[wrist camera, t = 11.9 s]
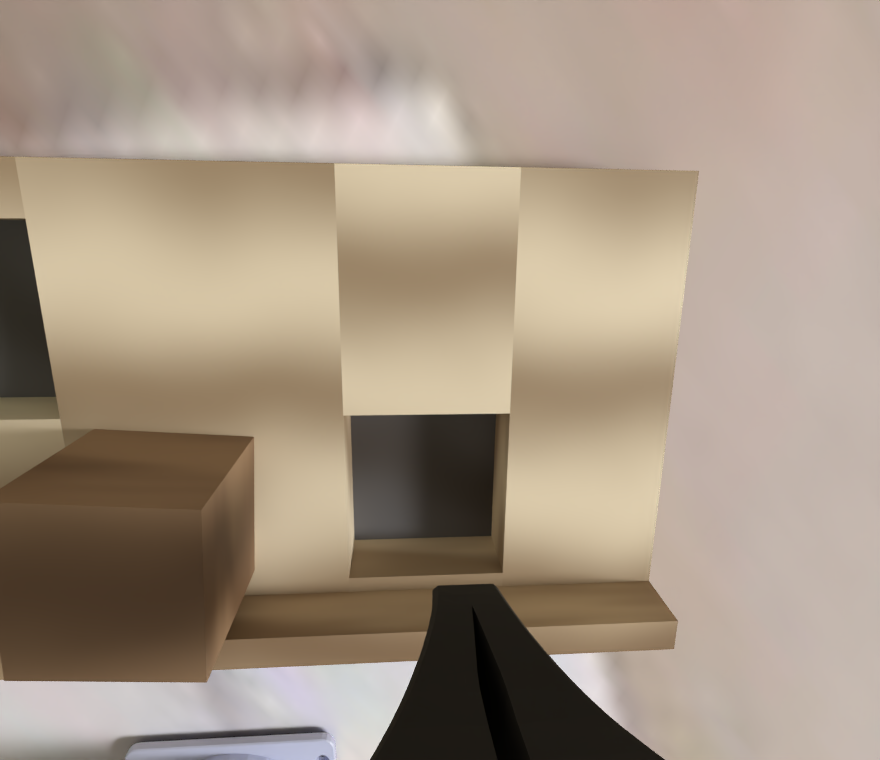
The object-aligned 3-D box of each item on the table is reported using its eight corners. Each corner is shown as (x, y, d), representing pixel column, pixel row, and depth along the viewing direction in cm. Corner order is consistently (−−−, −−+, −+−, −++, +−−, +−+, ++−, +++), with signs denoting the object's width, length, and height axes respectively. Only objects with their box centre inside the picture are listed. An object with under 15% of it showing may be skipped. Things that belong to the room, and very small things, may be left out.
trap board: (617, 564, 21) (673, 648, 17) (-228, 592, 19) (-414, 698, 15) (657, 179, 18) (742, 161, 13) (-376, 159, 15) (-679, 129, 11)
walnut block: (254, 570, 17) (206, 682, 13) (104, 566, 17) (4, 680, 13) (254, 436, 16) (201, 509, 12) (94, 428, 16) (-22, 502, 11)
